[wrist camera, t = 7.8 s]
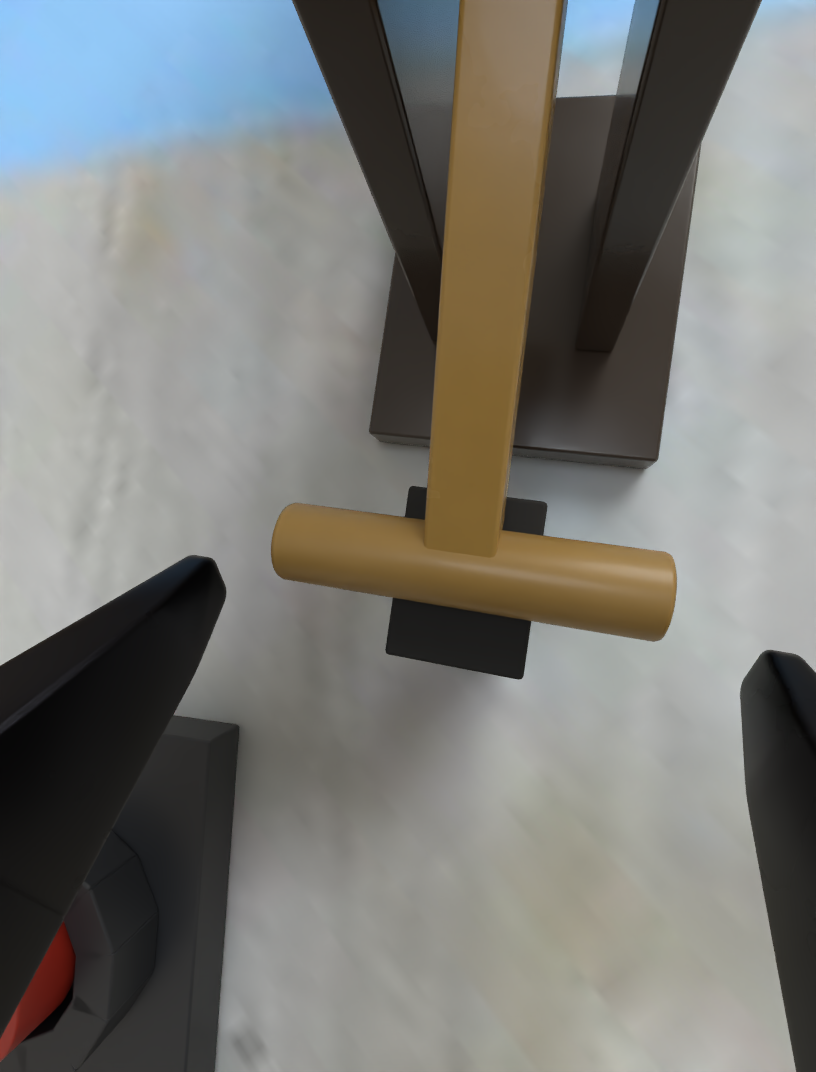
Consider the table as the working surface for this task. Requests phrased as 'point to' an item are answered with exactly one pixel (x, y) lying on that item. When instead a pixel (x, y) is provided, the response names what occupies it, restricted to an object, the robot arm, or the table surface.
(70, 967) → the button
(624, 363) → the bracket
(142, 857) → the dark grey square plate
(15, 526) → the table surface
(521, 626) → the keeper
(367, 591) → the lever
